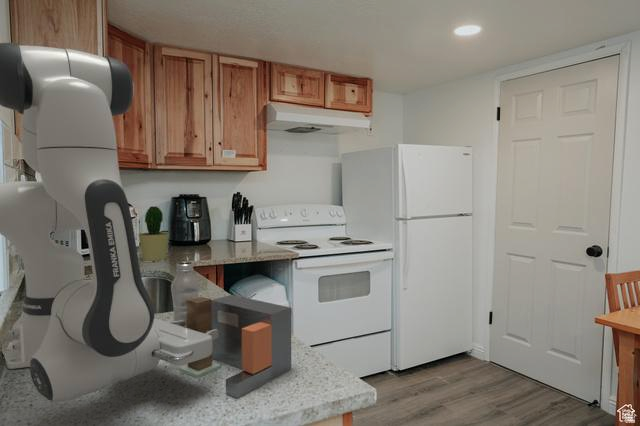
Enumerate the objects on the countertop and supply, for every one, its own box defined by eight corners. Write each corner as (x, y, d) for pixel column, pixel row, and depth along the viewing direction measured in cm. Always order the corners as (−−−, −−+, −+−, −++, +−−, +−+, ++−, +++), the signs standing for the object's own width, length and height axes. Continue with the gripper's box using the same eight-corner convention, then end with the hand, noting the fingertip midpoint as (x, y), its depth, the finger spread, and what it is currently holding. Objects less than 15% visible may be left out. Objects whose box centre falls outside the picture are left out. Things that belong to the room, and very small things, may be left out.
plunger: (242, 370, 78) (241, 328, 78) (260, 361, 82) (260, 321, 82) (253, 374, 76) (253, 331, 76) (271, 365, 80) (271, 324, 80)
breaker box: (176, 372, 84) (175, 309, 83) (231, 349, 96) (231, 294, 95) (237, 398, 73) (236, 326, 73) (291, 369, 85) (291, 307, 85)
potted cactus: (137, 263, 212) (136, 205, 211) (140, 259, 227) (139, 204, 225) (169, 262, 217) (168, 205, 216) (170, 257, 232) (169, 204, 230)
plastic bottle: (189, 339, 103) (188, 260, 102) (205, 346, 98) (204, 263, 97) (165, 347, 98) (164, 263, 97) (181, 354, 93) (180, 266, 92)
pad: (178, 370, 85) (178, 367, 85) (202, 360, 90) (202, 358, 90) (197, 378, 81) (197, 375, 81) (220, 367, 86) (220, 364, 86)
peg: (187, 366, 85) (186, 300, 84) (201, 361, 88) (200, 296, 87) (198, 371, 83) (197, 302, 82) (212, 365, 86) (211, 299, 85)
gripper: (172, 343, 68) (235, 322, 79) (109, 321, 80) (171, 305, 91) (173, 381, 68) (235, 354, 79) (109, 353, 80) (172, 333, 91)
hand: (200, 328), depth 85 cm, fingers open, 8 cm apart
